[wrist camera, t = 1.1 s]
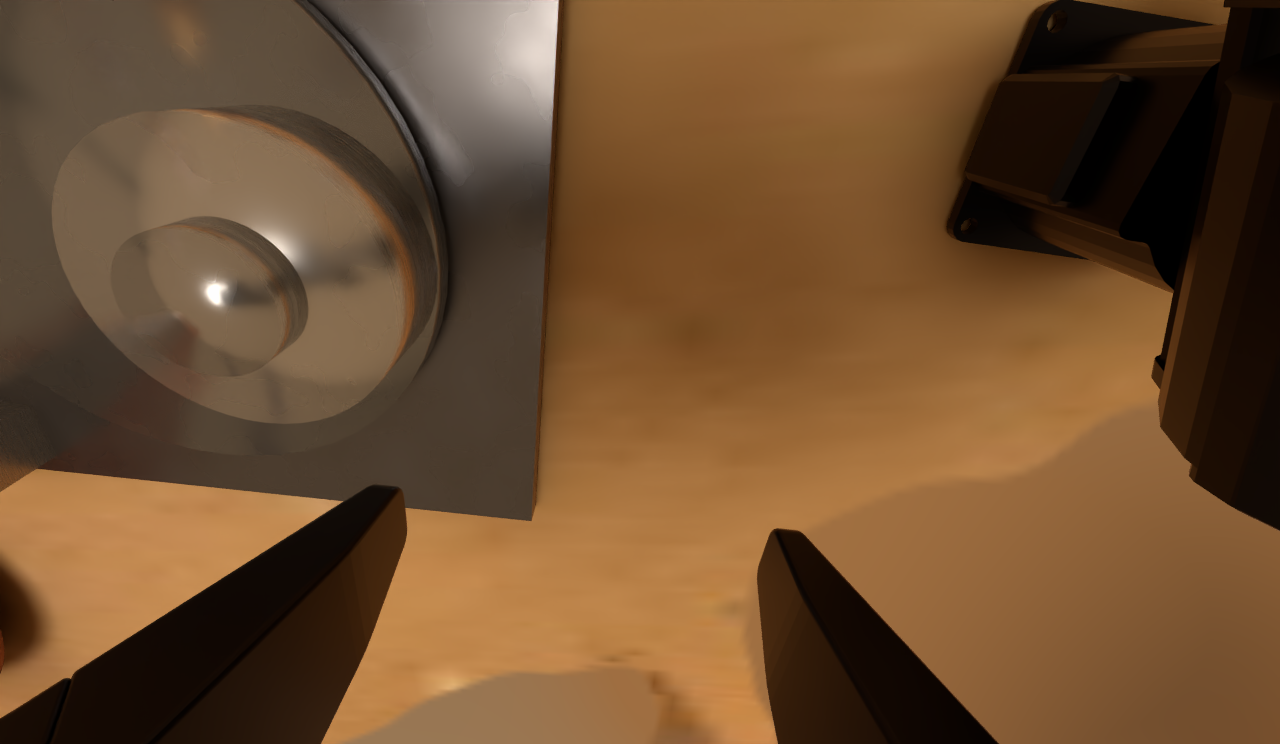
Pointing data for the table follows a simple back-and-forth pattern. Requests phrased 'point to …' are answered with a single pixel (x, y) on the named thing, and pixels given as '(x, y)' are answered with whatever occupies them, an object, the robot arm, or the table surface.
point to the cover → (245, 257)
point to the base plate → (476, 293)
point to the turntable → (154, 81)
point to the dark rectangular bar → (21, 443)
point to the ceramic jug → (1, 651)
